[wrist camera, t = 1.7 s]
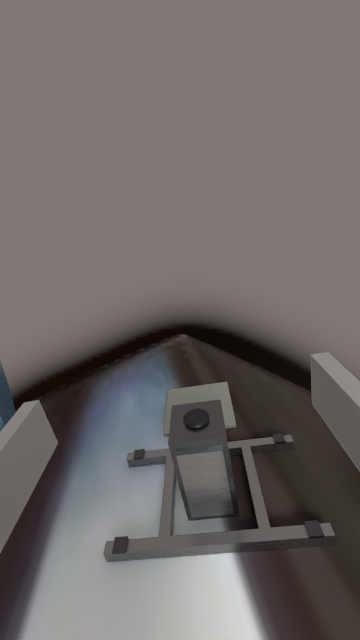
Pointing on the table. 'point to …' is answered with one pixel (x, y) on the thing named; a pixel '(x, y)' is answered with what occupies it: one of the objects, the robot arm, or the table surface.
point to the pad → (201, 395)
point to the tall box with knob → (202, 460)
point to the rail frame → (218, 541)
